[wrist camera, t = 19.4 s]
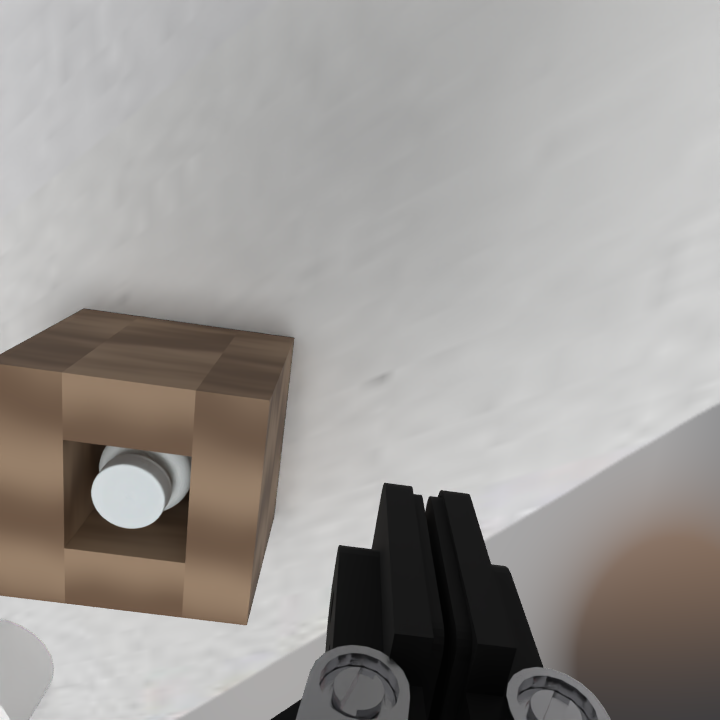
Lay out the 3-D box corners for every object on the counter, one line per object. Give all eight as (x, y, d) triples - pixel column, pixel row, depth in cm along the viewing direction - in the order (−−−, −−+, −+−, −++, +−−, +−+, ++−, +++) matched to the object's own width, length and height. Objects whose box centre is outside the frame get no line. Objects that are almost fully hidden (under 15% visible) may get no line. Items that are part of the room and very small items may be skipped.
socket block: (83, 308, 40) (-15, 362, 30) (294, 337, 41) (269, 400, 30) (84, 492, 45) (-2, 595, 34) (274, 517, 45) (246, 625, 35)
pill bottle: (135, 447, 43) (71, 528, 33) (146, 377, 41) (82, 442, 32) (211, 465, 43) (169, 550, 34) (226, 397, 41) (185, 466, 32)
